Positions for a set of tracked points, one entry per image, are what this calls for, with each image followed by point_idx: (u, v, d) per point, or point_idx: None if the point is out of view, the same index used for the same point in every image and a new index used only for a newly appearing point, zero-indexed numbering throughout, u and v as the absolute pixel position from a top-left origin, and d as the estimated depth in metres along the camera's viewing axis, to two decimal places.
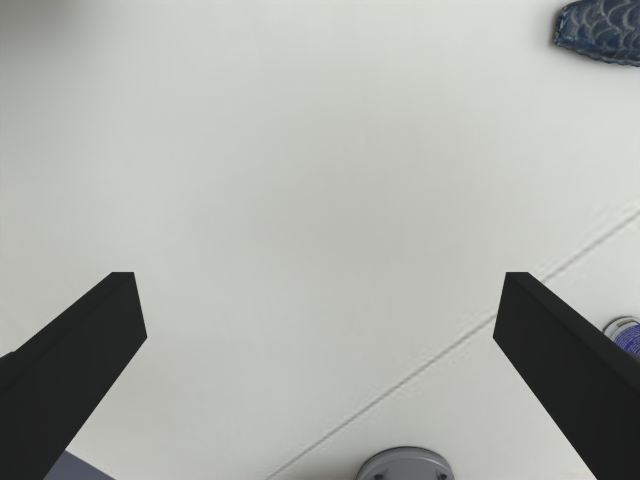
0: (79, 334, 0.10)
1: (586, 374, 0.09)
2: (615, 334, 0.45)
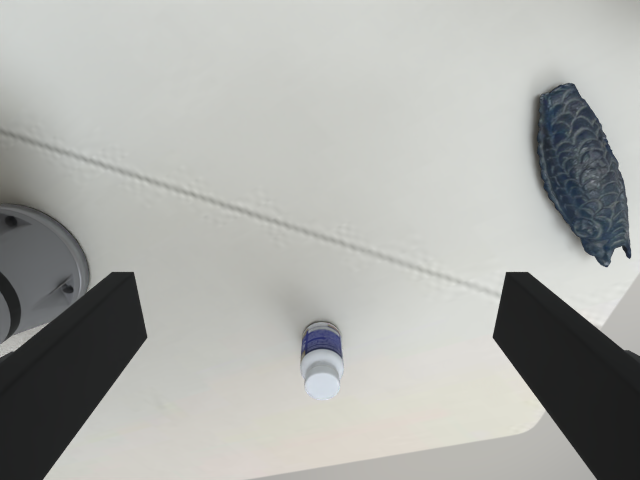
0: (79, 334, 0.10)
1: (586, 374, 0.09)
2: (320, 328, 0.46)
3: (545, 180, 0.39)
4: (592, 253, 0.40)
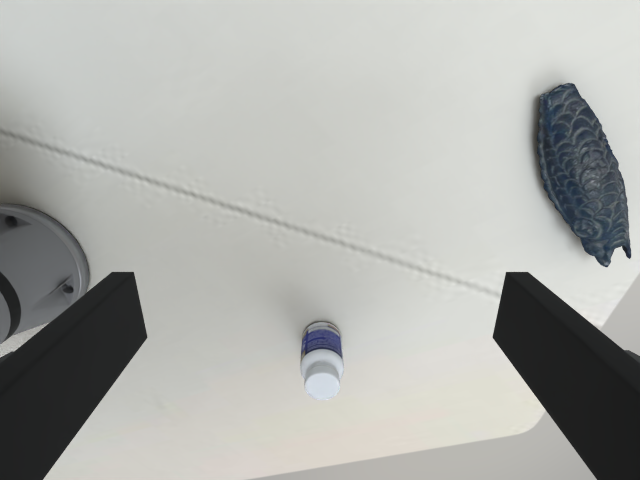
0: (79, 334, 0.10)
1: (586, 374, 0.09)
2: (320, 328, 0.46)
3: (545, 180, 0.39)
4: (592, 253, 0.40)
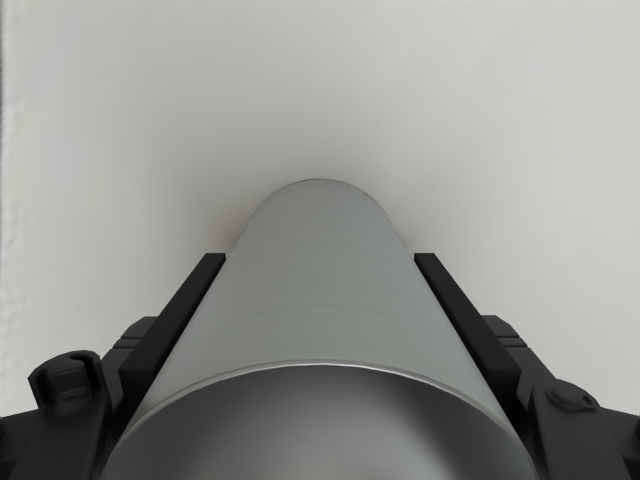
0: None
1: None
2: None
3: None
4: None
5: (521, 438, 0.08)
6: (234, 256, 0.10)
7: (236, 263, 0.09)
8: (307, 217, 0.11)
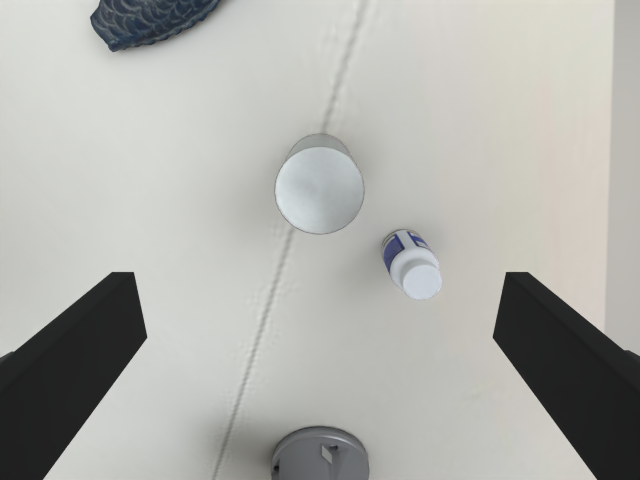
0: (79, 334, 0.10)
1: (586, 374, 0.09)
2: (383, 255, 0.42)
3: (193, 21, 0.34)
4: None
5: None
6: (293, 149, 0.33)
7: (296, 148, 0.32)
8: (315, 138, 0.34)
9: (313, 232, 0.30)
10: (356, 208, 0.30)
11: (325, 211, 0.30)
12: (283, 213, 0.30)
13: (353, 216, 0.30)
